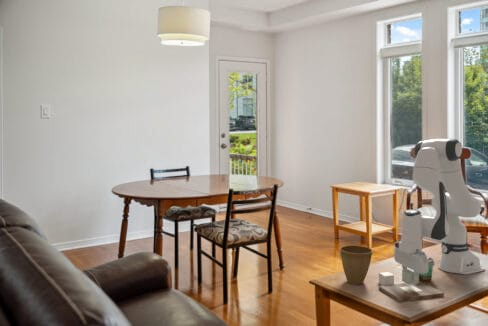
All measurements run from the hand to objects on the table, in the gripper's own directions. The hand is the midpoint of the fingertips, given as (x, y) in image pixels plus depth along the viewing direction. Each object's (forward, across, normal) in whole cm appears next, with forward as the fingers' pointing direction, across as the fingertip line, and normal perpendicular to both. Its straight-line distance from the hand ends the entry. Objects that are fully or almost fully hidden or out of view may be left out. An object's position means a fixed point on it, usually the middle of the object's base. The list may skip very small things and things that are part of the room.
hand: (410, 277), depth 210 cm
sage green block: (+2, 0, 0) cm, 2 cm away
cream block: (+7, +13, +4) cm, 15 cm away
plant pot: (+7, +20, +16) cm, 26 cm away
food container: (+7, +11, -16) cm, 21 cm away
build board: (+7, 0, 0) cm, 7 cm away
